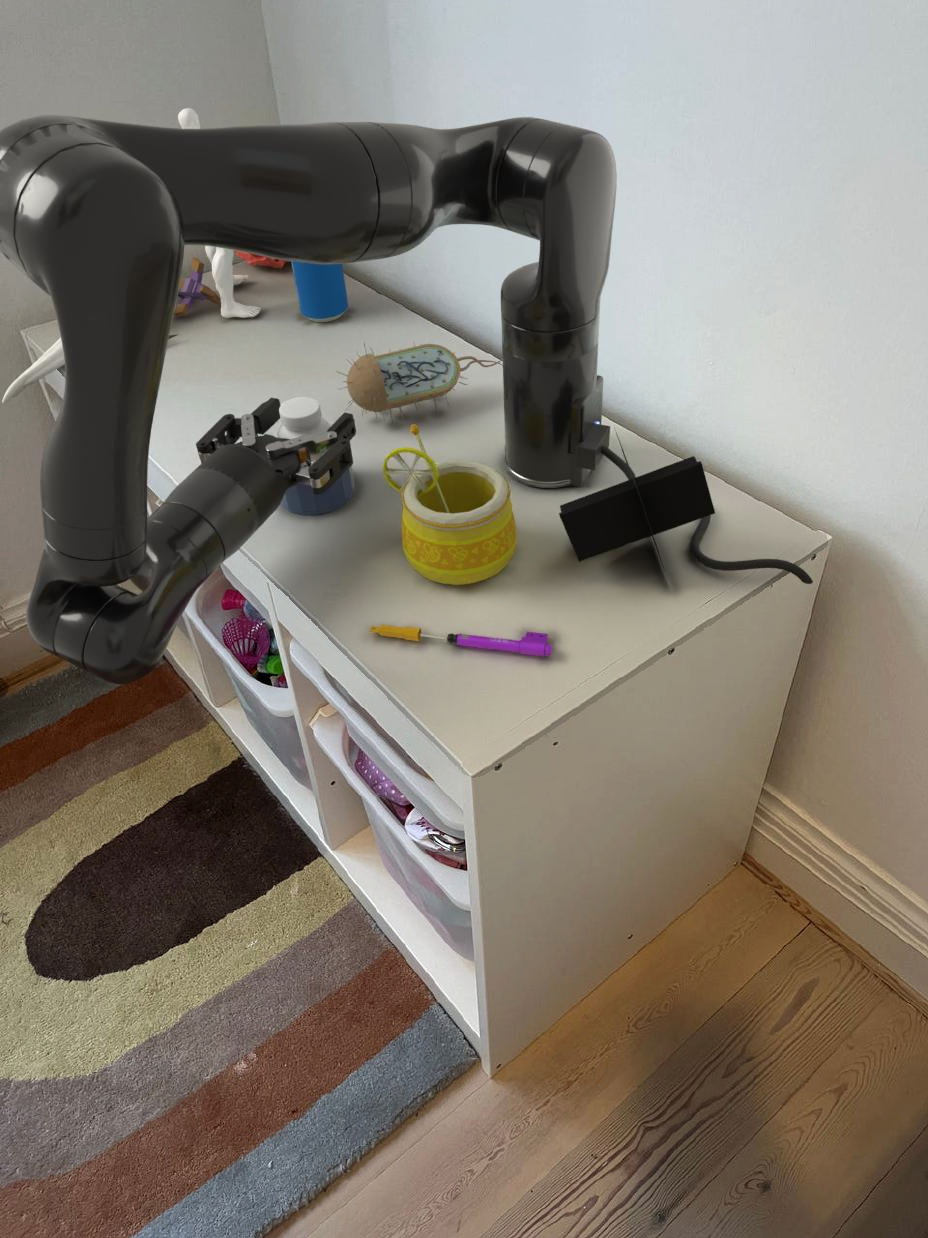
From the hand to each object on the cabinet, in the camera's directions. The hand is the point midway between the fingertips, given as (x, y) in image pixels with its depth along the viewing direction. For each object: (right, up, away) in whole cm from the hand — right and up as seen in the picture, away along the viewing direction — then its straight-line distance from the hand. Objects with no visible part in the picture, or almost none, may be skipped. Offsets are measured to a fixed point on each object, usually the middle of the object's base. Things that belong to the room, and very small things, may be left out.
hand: (313, 413), depth 96 cm
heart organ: (-15, +33, +48) cm, 60 cm away
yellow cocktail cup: (+14, -14, -4) cm, 20 cm away
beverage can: (-4, +21, +34) cm, 40 cm away
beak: (-27, +14, +29) cm, 42 cm away
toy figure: (-24, +25, +34) cm, 48 cm away
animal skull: (-35, +13, +30) cm, 48 cm away
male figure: (-17, +24, +38) cm, 48 cm away
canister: (0, -7, +4) cm, 9 cm away
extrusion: (+31, -14, -14) cm, 36 cm away
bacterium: (+11, +4, +15) cm, 19 cm away
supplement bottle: (0, -7, +4) cm, 8 cm away
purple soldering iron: (+23, -23, -15) cm, 35 cm away
